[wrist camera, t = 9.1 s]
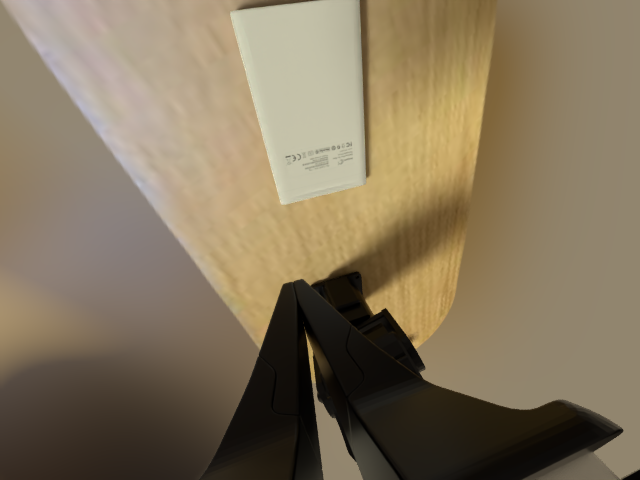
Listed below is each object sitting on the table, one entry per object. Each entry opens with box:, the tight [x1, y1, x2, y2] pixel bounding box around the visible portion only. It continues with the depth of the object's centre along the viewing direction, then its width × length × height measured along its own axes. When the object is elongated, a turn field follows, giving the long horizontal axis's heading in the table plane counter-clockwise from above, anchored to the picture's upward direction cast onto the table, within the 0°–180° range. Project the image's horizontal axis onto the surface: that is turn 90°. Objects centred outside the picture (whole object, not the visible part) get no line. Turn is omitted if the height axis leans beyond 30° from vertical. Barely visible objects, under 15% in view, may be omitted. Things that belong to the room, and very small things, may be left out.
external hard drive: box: [230, 0, 366, 205], centre depth 18 cm, size 2×8×12 cm
